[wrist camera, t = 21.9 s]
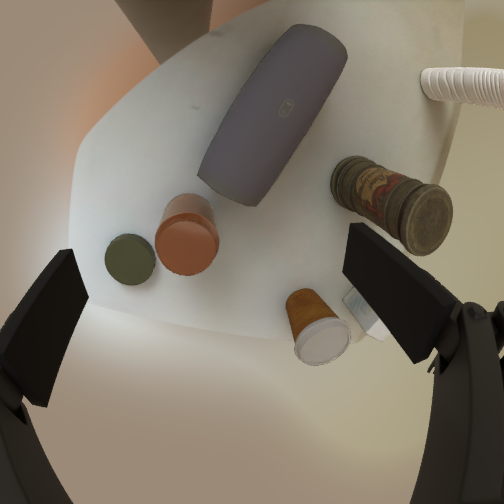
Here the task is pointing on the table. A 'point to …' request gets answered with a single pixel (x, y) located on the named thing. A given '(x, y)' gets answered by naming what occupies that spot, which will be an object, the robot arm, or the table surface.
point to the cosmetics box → (365, 315)
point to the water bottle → (465, 85)
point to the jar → (187, 235)
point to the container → (394, 203)
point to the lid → (130, 259)
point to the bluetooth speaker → (273, 114)
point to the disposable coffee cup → (316, 328)
